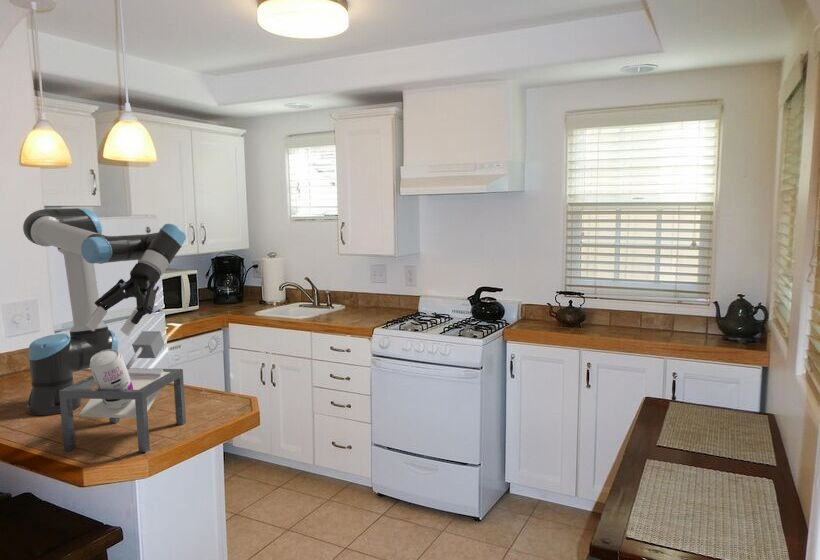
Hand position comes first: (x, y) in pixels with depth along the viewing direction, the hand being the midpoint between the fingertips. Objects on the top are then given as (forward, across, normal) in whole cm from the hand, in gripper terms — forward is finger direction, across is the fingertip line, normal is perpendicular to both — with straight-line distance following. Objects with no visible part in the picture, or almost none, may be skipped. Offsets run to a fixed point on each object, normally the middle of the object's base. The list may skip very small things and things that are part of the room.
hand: (106, 330), depth 164 cm
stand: (+18, +1, -26) cm, 32 cm away
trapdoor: (+3, +4, -23) cm, 24 cm away
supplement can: (+12, 0, -17) cm, 21 cm away
